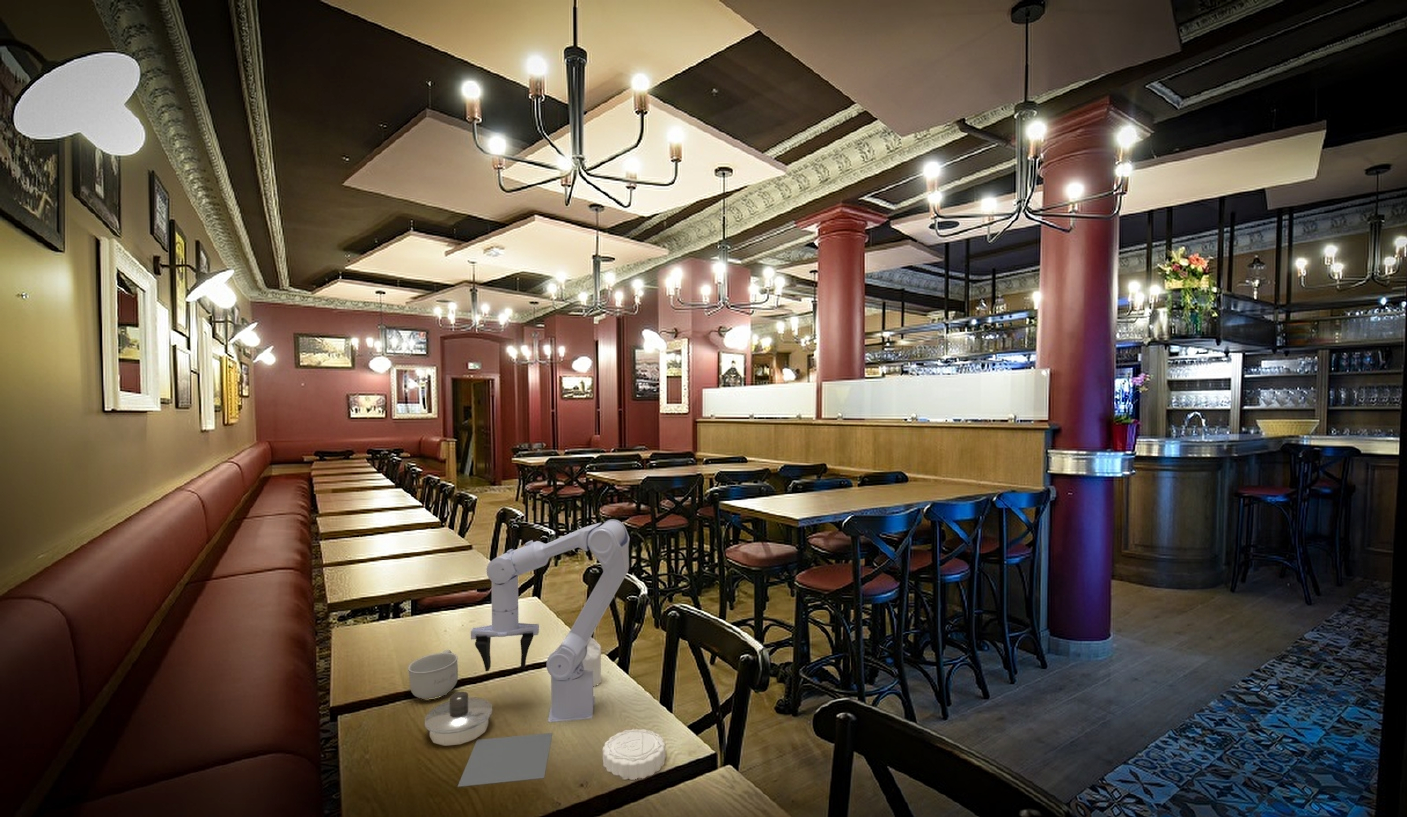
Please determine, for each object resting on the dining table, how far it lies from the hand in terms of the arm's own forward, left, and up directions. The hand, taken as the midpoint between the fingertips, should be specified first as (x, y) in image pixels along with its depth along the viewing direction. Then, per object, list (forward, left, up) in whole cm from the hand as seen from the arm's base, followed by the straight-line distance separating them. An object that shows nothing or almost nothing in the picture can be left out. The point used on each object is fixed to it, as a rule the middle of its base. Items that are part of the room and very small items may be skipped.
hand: (505, 668), depth 132 cm
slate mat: (-4, +20, -9) cm, 22 cm away
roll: (-18, -10, -10) cm, 23 cm away
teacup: (+18, -12, -10) cm, 24 cm away
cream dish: (+8, +8, -9) cm, 15 cm away
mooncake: (-28, +24, -10) cm, 38 cm away
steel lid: (+8, +8, -6) cm, 13 cm away
